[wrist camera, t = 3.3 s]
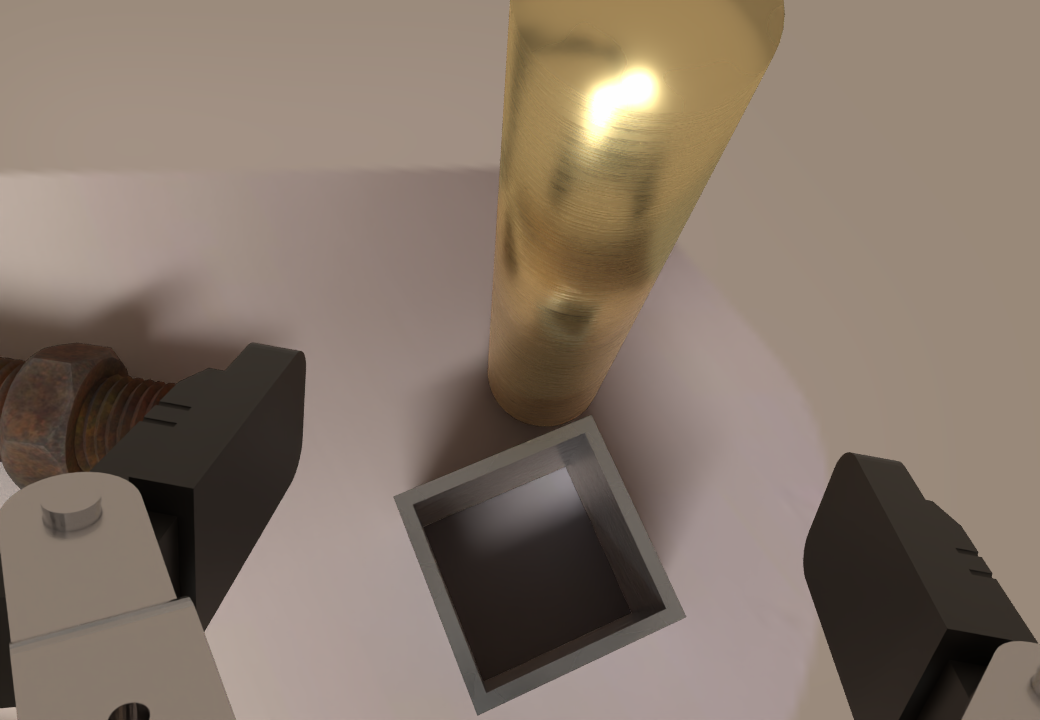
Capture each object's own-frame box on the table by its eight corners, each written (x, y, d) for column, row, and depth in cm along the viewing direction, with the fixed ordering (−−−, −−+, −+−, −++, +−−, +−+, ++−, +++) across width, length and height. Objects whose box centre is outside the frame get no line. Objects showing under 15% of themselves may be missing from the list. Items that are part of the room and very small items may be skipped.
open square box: (476, 699, 25) (477, 715, 21) (407, 520, 27) (393, 496, 22) (647, 619, 26) (686, 616, 22) (571, 451, 28) (591, 414, 23)
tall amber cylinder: (514, 443, 28) (581, 151, 11) (470, 342, 29) (468, -69, 12) (618, 400, 29) (834, 62, 12) (571, 303, 30) (706, -138, 13)
